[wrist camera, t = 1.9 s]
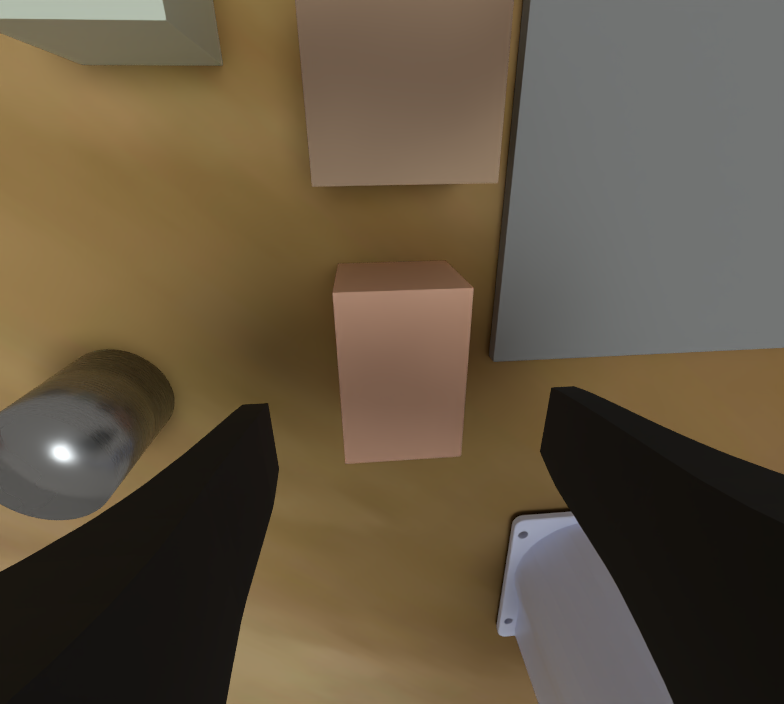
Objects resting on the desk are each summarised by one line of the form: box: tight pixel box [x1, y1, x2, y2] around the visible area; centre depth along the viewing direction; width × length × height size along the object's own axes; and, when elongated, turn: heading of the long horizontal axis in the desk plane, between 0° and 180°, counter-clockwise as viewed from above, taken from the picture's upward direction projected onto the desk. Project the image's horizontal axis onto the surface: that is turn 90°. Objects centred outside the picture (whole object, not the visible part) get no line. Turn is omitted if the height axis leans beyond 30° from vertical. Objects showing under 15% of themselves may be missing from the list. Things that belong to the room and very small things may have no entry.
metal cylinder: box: [0, 350, 174, 520], centre depth 14 cm, size 4×4×4 cm
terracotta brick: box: [333, 260, 474, 464], centre depth 14 cm, size 6×4×4 cm, turn 1°
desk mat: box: [489, 0, 784, 362], centre depth 14 cm, size 16×16×1 cm
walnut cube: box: [295, 0, 514, 187], centre depth 11 cm, size 4×4×4 cm
